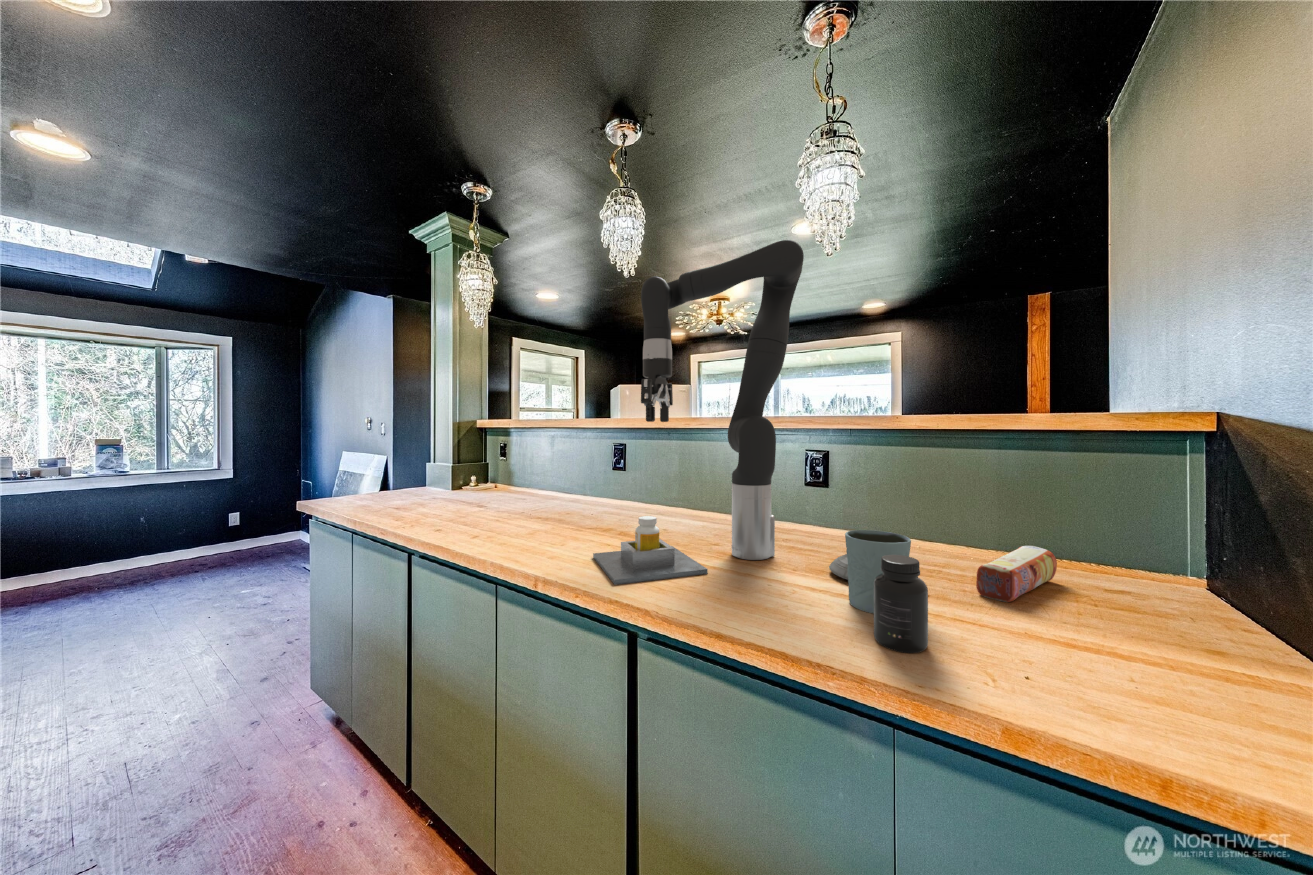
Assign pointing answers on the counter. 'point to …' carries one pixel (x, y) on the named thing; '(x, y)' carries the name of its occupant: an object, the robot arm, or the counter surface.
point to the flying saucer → (840, 566)
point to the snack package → (1015, 573)
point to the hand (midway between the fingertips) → (657, 421)
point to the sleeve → (647, 564)
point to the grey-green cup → (869, 562)
